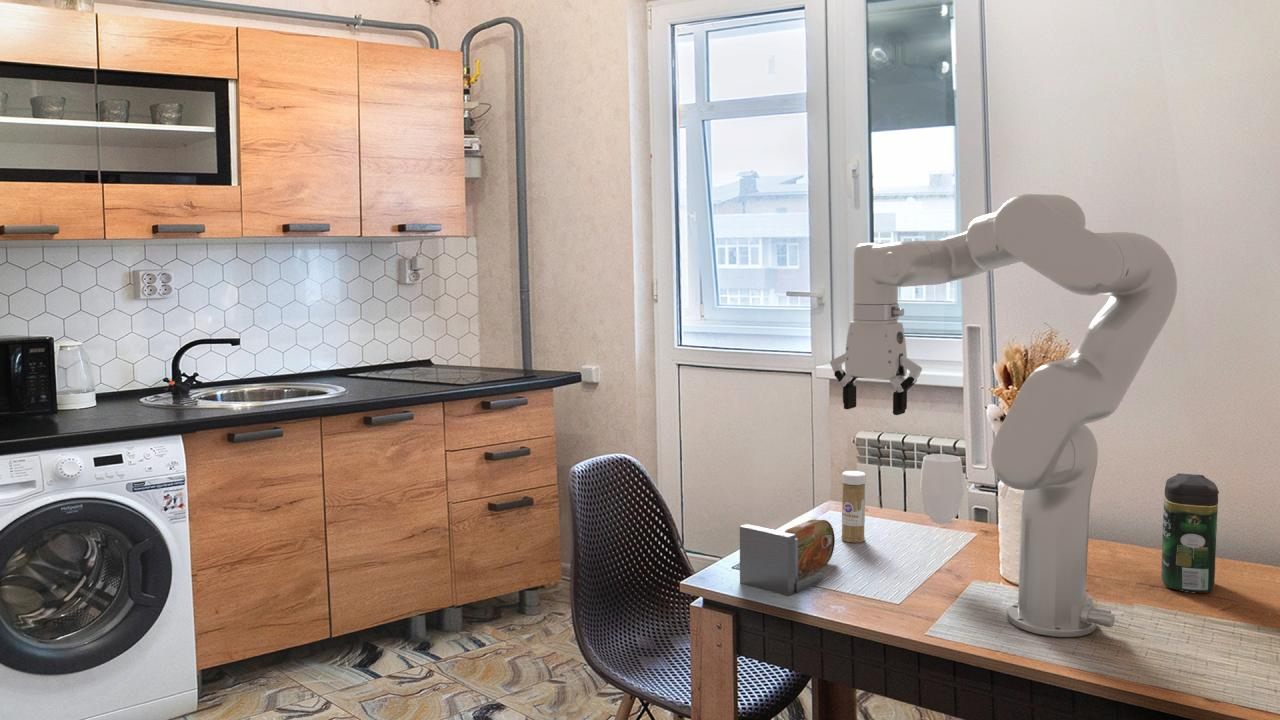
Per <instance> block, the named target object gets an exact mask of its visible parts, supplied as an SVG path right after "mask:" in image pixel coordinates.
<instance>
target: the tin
mask: <svg viewBox="0 0 1280 720" xmlns="http://www.w3.org/2000/svg"><path fill="white" fill-rule="evenodd" d="M784 532H786V533H791V534H795V538H796V539H798V578H801V577H803V576H802V575H804V576H806V575H808V574H810V573H812V572H814V571H816V570H818V569H820V568H822V567H824V566H826V565H827V564H828V563H829V562H830V560H831V559H832V556H833V553H834V551H835V541H836V540H835V531H834V528H833V526H832V524H831V523H830V522H829V521H828V520H826V519H814V518H813V519H809V520H807V521H805V522H802V523H800V524H797V525H794V526H793V527H790V528H788V529H786V530H785V531H784ZM817 568H818V569H817ZM815 569H816V570H815ZM813 570H814V571H813ZM811 571H812V572H811ZM809 572H810V573H809ZM807 573H808V574H807ZM805 574H806V575H805ZM800 576H801V577H800Z"/></svg>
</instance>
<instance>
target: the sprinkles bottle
mask: <svg viewBox="0 0 1280 720" xmlns="http://www.w3.org/2000/svg"><path fill="white" fill-rule="evenodd" d="M841 482H842V502H841V503H842V507H841V541H844V542H847V543H850V542H851V544H852V543H853V544H857V543H859V544H860V543H862V542H865V540H866V539H865V538H866V537H865V524H866V523H865V521H866V519H865V518H866V514H865V513H866V483H867V475H866V472H863V471H859V470H845V471H843V472H842V473H841Z"/></svg>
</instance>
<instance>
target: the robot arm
mask: <svg viewBox="0 0 1280 720" xmlns="http://www.w3.org/2000/svg"><path fill="white" fill-rule="evenodd" d="M853 251H854V252H853V302H852V303H853V304H852V305H853V306H852V307H853V309H852V311H853V315H852V321H850V322H849V325H848V329H847V335H846V343H845V353H843V354H841V355H839V356H838V357H836V358H834V359H831V360H830V362H829V364H830V366H831V369H832V371H833V372H834V374H833V375H834V377H835V378H836V379H837V380H838V382H839V384H840V385H839V386H841V387H842V403H843V409H844V410H851V409H854V408H856V407H857V385H856V384H855V383H856V381H857V380H858V379H867V380H877V381H878V380H880V381H889V382H890V383H891V384H892V386H893V388H894V389H895V391H894V392H893V394H892V414H893V415H894V416H899V415H903V414H905V413H906V410H907V407H908V391H910V390H911V388H912V387H913V386H914V385H915V384H916V383H917V381H918V378H919V377H920V376H921V375H920V374H921V372H922V371H923V368H922V366H920V365H918V363H916V362H914V361H912V360H911V359H909V358H908V356H907V355H908V354H907V342H906V336H905V330H904V325H903V321H898V319H899V317H903V316H904V315H905V310H904V308H900V307H899V303H898V302H899V299H898V297H899V287H902V288H905V287H918V286H933V285H941V284H947V283H951V282H955V281H959V280H963V279H966V278H970V277H971V278H972V277H974V276H977V275H980V274H983V273H986V272H990V271H991V270H995V269H999V268H1002V267H1006V266H1010V265H1013V264H1014V265H1015V264H1017V263H1021V262H1022V263H1023V264H1025V265H1026V266H1028V267H1030V268H1031V269H1033V270H1034V271H1036V272H1037V273H1038V274H1041V275H1042V276H1044V277H1045V278H1047V279H1048V280H1050V281H1051V282H1053V283H1054V284H1056V285H1058V286H1059V287H1061V288H1063V289H1064V290H1066V291H1068V292H1071V293H1073V294H1076V295H1082V296H1089V297H1090V296H1091V297H1092V296H1101V295H1102V296H1103V295H1104V296H1105V295H1109V298H1108V299H1107V302H1106V303H1105V305H1103V307H1102V308H1101V309H1100V310H1099V312H1098V313H1097V314H1096V315H1095V317H1094V318H1093V319H1092V321H1091V322H1090V324H1088V327H1087V329H1086V331H1085V333H1084V335H1083V337H1082V339H1081V341H1080V342H1079V344H1078V346H1077V347H1076V349H1075V350H1074V352H1073V353H1072V354H1070V356H1069V357H1067V358H1064V359H1058V360H1053V361H1049V362H1047V363H1043V365H1041V366H1039V367H1037V368H1036V369H1034V371H1032V372H1031V373H1030V374H1029V376H1027V378H1026V379H1025V381H1024V382H1023V383H1022V384H1021V387H1020V389H1019V390H1018V392H1017V394H1016V396H1015V398H1014V399H1013V402H1012V404H1011V406H1010V408H1009V410H1008V412H1007V414H1006V415H1005V418H1004V420H1003V421H1002V423H1001V424H1000V426H999V429H998V431H997V432H996V435H995V438H994V440H993V443H992V447H991V452H990V453H991V455H990V456H991V457H990V459H991V466H992V468H993V471H994V473H995V475H996V477H997V478H998V479H999V481H1001V483H1003V484H1004V485H1005V486H1007V487H1009V488H1011V489H1014V490H1018V491H1023V494H1022V495H1023V496H1022V500H1021V505H1020V506H1021V507H1020V509H1021V510H1020V528H1019V529H1020V530H1019V531H1020V534H1019V535H1020V536H1019V560H1018V561H1019V565H1018V566H1019V567H1018V569H1019V570H1018V598H1017V600H1018V601H1017V602H1016V603H1014V604H1012V605H1010V606H1009V607H1008V608H1007V610H1006V617H1007V620H1008V621H1009V622H1010V624H1012V625H1013V626H1015V627H1017V628H1019V629H1021V630H1024V631H1025V632H1029V633H1032V634H1037V635H1042V636H1045V637H1046V636H1047V637H1048V636H1049V637H1058V638H1077V637H1083V636H1086V635H1087V636H1088V635H1090V634H1092V633H1093V632H1094V631H1095V630H1096V628H1097V625H1099V626H1102V627H1106V628H1110V629H1111V628H1112V629H1113V627H1114V624H1115V619H1116V618H1115V614H1112V610H1111V609H1108V608H1103V607H1097V606H1096V605H1095V604H1093V595H1090V594H1087V581H1088V580H1087V576H1088V575H1087V572H1088V553H1089V552H1088V550H1089V547H1088V546H1089V527H1090V513H1091V510H1090V509H1091V498H1092V490H1093V484H1094V480H1095V476H1096V470H1097V466H1098V459H1099V457H1098V456H1099V451H1098V443H1097V440H1096V437H1095V435H1094V433H1093V432H1092V430H1091V429H1090V428H1089V427H1088V426H1087V424H1091V423H1095V422H1099V421H1102V420H1104V419H1107V418H1108V417H1110V416H1111V415H1112V414H1113V413H1115V412H1116V411H1117V409H1118V408H1119V406H1120V405H1121V403H1122V401H1123V398H1125V395H1126V394H1127V392H1128V390H1129V388H1130V386H1131V385H1132V383H1133V381H1134V380H1135V378H1136V376H1137V374H1138V372H1139V371H1140V369H1141V367H1142V365H1143V364H1144V361H1145V360H1146V358H1147V355H1148V354H1149V352H1150V350H1151V348H1152V347H1153V345H1154V343H1155V342H1156V340H1157V339H1158V337H1159V335H1160V334H1161V332H1162V330H1163V328H1164V326H1165V325H1166V323H1167V321H1168V319H1169V317H1170V315H1171V312H1172V310H1173V308H1174V305H1175V301H1176V297H1177V291H1178V280H1177V273H1176V269H1175V266H1174V264H1173V262H1172V259H1171V257H1170V256H1169V254H1168V253H1167V251H1166V250H1165V249H1164V247H1162V246H1161V244H1159V243H1158V242H1157V241H1155V240H1154V239H1152V238H1151V237H1149V236H1146V235H1143V234H1141V233H1136V232H1127V231H1126V232H1125V231H1123V232H1121V231H1120V232H1117V231H1116V232H1115V231H1113V232H1093V231H1091V230H1090V229H1087V228H1086V215H1085V213H1084V211H1083V209H1082V207H1081V206H1080V205H1079V204H1078V203H1077V202H1076V201H1075V200H1073V199H1072V198H1070V197H1068V196H1065V195H1060V194H1042V193H1041V194H1040V193H1039V194H1038V193H1027V194H1026V193H1024V194H1019V195H1017V196H1014V197H1012V198H1010V199H1009V200H1007V201H1006V202H1004V203H1003V204H1002V205H1001V206H1000V208H998V210H996V211H993V212H989V213H986V214H982V215H979V216H977V217H975V218H973V219H972V221H970V222H969V225H968V227H967V229H966V231H964V232H961V233H958V234H955V235H952V236H949V237H948V236H947V237H945V238H941V239H940V238H939V239H937V240H936V239H935V240H934V239H933V240H911V241H910V240H908V241H907V240H906V241H905V240H903V241H901V240H900V241H895V242H862V243H859V244H857V245H856V247H855V248H854V250H853ZM843 364H844V369H845V370H843V367H842V366H843ZM908 371H909V374H908V377H906V376H907V373H908ZM905 377H906V378H905ZM854 384H855V385H854Z"/></svg>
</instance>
